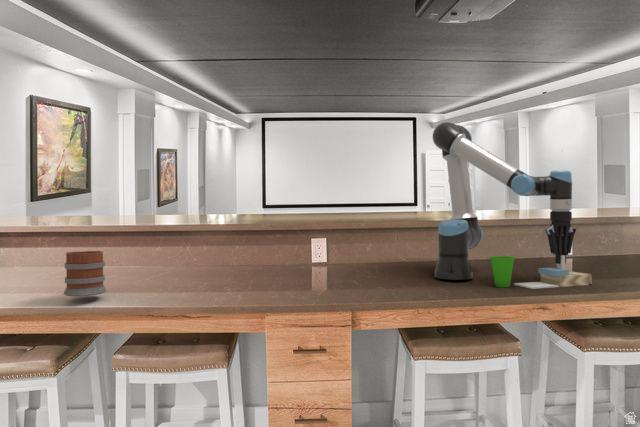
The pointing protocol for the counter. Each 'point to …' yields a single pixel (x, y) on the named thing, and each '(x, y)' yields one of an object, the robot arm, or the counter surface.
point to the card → (553, 271)
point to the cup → (502, 270)
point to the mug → (84, 273)
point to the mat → (536, 285)
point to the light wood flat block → (568, 279)
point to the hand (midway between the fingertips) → (560, 272)
